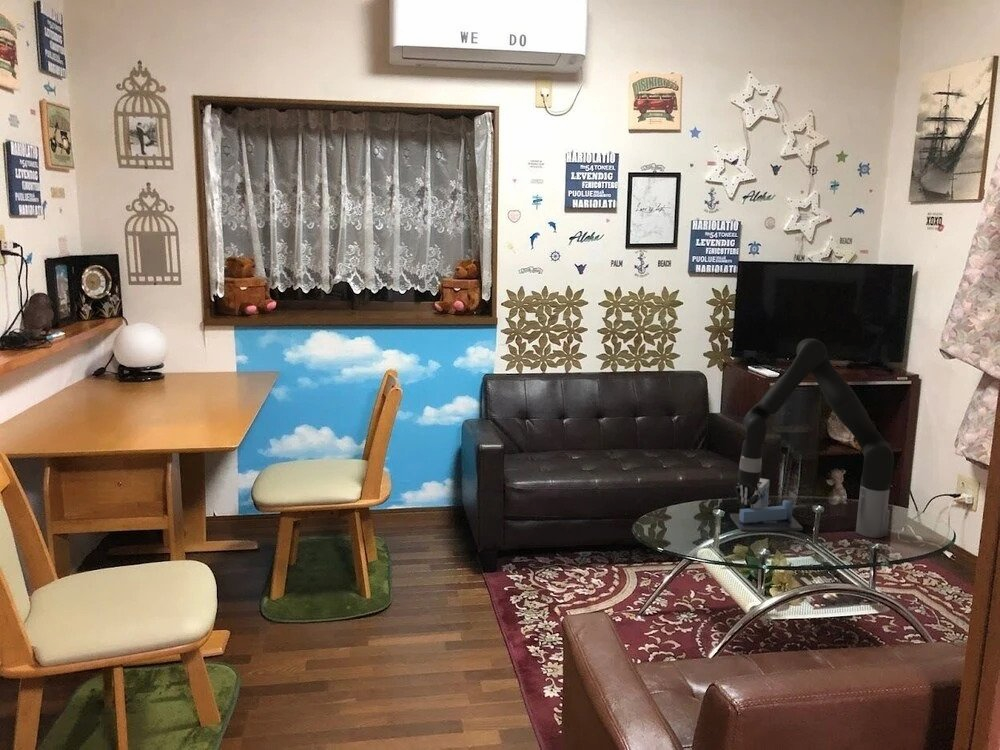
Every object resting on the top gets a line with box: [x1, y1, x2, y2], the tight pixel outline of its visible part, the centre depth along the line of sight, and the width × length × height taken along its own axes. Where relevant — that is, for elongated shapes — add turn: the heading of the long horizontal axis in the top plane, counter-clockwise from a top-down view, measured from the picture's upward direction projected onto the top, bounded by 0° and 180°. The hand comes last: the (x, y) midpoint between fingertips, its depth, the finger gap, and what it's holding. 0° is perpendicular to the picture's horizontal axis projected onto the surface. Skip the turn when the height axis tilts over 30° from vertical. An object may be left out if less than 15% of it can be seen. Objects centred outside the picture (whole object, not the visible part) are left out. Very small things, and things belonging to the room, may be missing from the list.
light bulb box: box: [750, 477, 770, 508], centre depth 301 cm, size 11×7×11 cm, turn 147°
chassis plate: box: [729, 513, 804, 532], centre depth 288 cm, size 22×13×2 cm, turn 90°
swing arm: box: [738, 499, 794, 523], centre depth 287 cm, size 20×4×6 cm, turn 102°
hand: (745, 513), depth 290 cm, fingers closed
